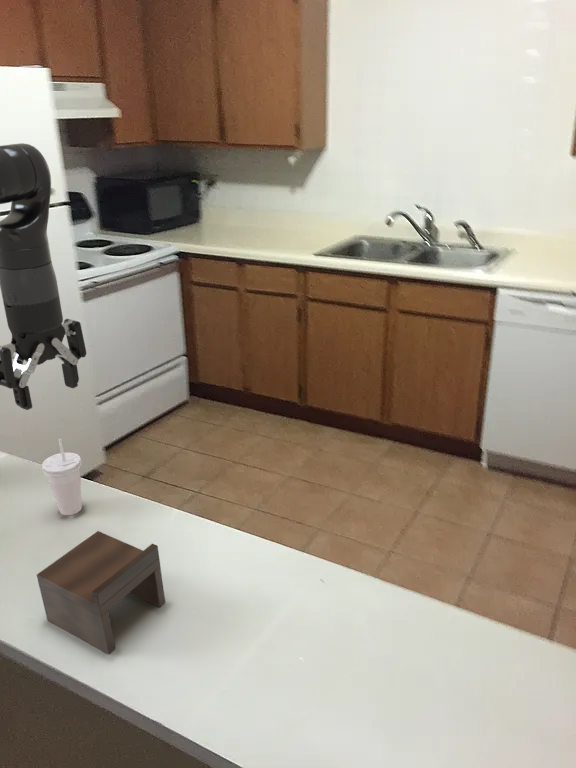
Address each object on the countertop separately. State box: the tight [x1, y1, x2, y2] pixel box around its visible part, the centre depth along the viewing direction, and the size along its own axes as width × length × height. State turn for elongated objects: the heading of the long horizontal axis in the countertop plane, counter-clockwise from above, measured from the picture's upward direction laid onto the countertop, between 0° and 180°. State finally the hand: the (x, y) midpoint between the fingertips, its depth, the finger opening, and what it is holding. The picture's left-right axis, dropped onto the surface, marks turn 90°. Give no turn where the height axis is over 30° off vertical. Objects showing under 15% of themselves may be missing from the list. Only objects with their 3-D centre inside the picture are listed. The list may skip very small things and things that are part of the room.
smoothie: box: [41, 437, 83, 516], centre depth 114 cm, size 6×6×14 cm
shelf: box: [36, 530, 166, 655], centre depth 92 cm, size 12×11×10 cm
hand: (49, 397), depth 101 cm, fingers open, 8 cm apart
